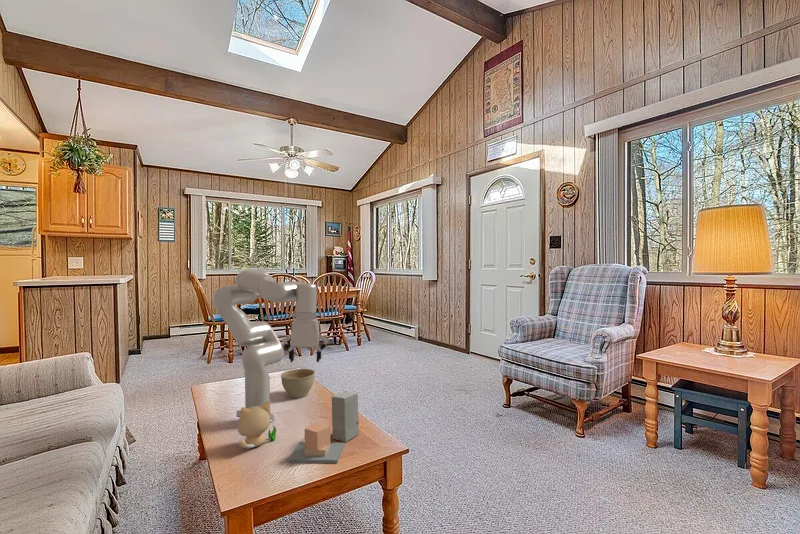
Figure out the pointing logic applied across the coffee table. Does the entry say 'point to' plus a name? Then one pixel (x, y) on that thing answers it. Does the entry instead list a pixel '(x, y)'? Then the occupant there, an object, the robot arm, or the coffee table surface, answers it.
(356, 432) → the skincare box
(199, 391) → the coffee table surface
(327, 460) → the post board
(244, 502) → the coffee table surface
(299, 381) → the planter bowl
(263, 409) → the kitten
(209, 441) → the coffee table surface
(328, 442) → the peach cardboard cube
